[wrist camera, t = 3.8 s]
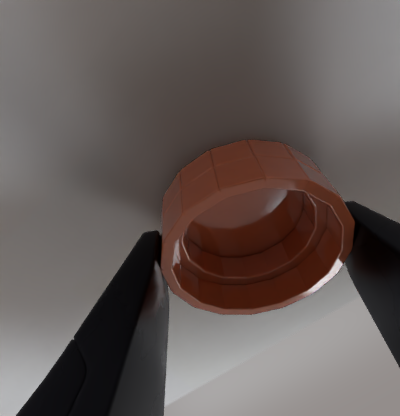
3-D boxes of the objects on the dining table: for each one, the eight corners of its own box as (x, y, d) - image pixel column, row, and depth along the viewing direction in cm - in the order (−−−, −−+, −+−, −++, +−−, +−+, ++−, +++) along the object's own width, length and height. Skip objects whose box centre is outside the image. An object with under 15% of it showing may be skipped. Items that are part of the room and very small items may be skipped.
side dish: (341, 212, 10) (379, 263, 8) (220, 278, 11) (230, 333, 10) (271, 93, 7) (304, 131, 6) (127, 199, 9) (118, 255, 7)
